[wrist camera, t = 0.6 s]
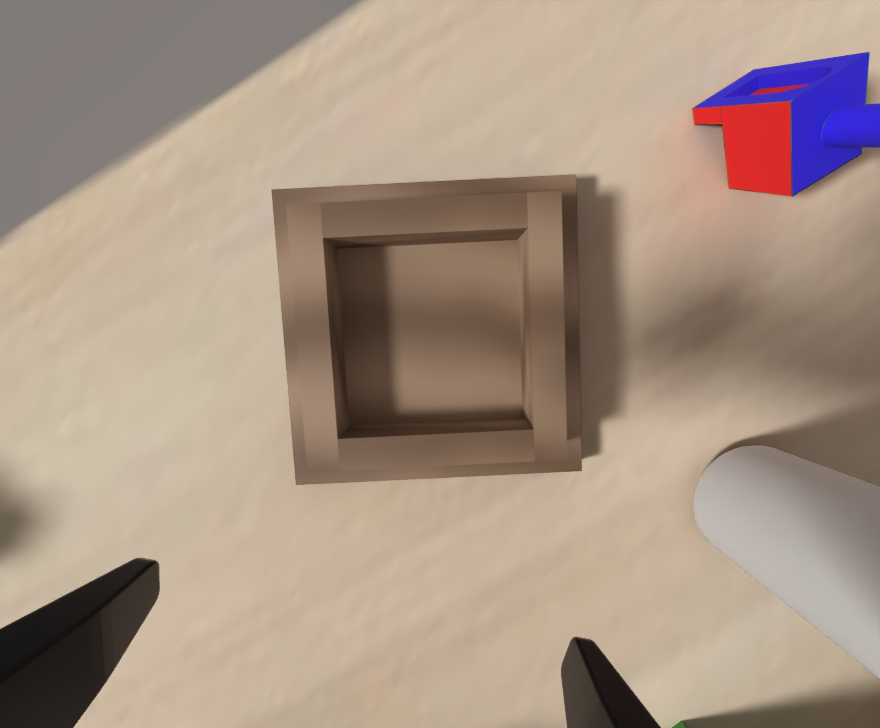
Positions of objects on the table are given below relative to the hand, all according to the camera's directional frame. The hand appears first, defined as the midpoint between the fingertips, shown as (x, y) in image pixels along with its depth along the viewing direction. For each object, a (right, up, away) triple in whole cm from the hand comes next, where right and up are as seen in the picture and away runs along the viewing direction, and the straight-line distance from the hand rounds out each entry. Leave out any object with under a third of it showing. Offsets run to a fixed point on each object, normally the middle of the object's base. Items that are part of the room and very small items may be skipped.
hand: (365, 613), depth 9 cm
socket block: (+1, +7, +14) cm, 15 cm away
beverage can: (+19, -2, +15) cm, 24 cm away
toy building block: (+18, +17, +13) cm, 28 cm away
